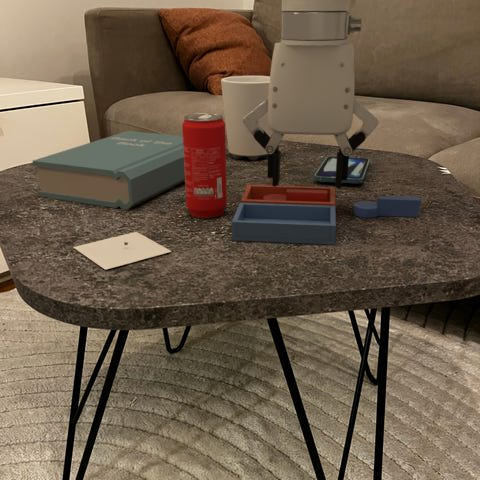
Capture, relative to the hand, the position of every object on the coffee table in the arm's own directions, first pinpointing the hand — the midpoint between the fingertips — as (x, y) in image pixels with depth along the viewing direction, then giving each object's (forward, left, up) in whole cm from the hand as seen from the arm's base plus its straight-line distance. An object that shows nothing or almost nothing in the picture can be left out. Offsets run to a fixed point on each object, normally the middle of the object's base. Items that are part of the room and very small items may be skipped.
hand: (306, 183), depth 75 cm
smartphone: (-5, -20, -4) cm, 21 cm away
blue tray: (+2, +8, -4) cm, 9 cm away
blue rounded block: (-10, 0, -4) cm, 11 cm away
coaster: (+20, +16, -4) cm, 26 cm away
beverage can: (+13, +2, -4) cm, 13 cm away
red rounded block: (+1, 0, -3) cm, 4 cm away
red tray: (+2, 0, -4) cm, 4 cm away
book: (+27, -11, -4) cm, 29 cm away
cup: (+11, -30, -4) cm, 32 cm away
